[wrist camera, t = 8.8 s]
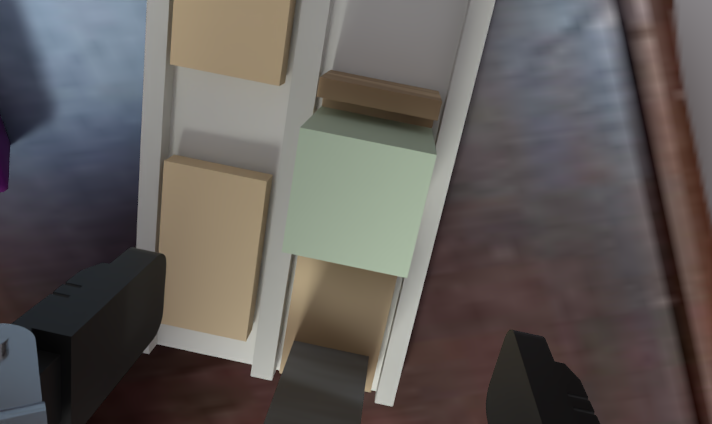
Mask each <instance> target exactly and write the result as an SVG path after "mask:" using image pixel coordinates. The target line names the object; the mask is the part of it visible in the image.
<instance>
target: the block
mask: <svg viewBox="0 0 712 424" xmlns="http://www.w3.org/2000/svg"><path fill="white" fill-rule="evenodd" d="M436 156H437V153H436V148H435V142H434V137H433V131H432V128H428V127H423V126H418V125H413V124H408V123H403V122H398V121H393V120H388V119H383V118H378V117H373V116H368V115H363V114H358V113H353V112H348V111H343V110H338V109H333V108H328V107H323V106H321V107H320V108H319V109H318V110H317V111H316V112H315V113H314V114H313V115H312V116H311V117H310V118H309V119H308V120H307V121H306V122H305V123H304V124H303V125H302V126H301V127H300V131H299V138H298V145H297V151H296V158H295V165H294V172H293V179H292V185H291V192H290V199H289V206H288V213H287V219H286V226H285V233H284V240H283V247H282V252H284V253H289V254H293V255H298V256H303V257H308V258H313V259H318V260H322V261H327V262H332V263H337V264H342V265H346V266H351V267H356V268H361V269H366V270H370V271H375V272H380V273H385V274H390V275H394V276H399V277H404V278H407V277H408V273H409V269H410V265H411V260H412V256H413V252H414V248H415V244H416V240H417V235H418V231H419V227H420V223H421V219H422V215H423V211H424V206H425V202H426V198H427V194H428V190H429V186H430V181H431V177H432V173H433V169H434V165H435V161H436Z"/></svg>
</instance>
